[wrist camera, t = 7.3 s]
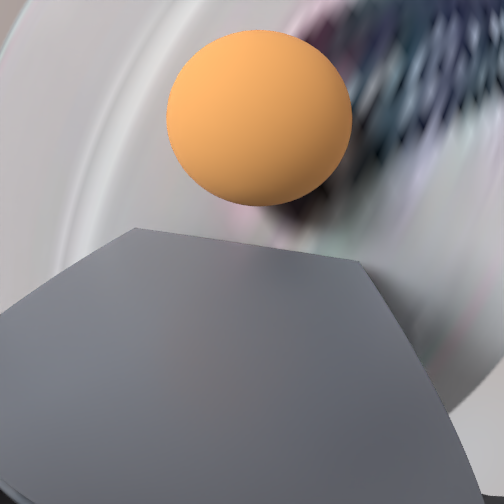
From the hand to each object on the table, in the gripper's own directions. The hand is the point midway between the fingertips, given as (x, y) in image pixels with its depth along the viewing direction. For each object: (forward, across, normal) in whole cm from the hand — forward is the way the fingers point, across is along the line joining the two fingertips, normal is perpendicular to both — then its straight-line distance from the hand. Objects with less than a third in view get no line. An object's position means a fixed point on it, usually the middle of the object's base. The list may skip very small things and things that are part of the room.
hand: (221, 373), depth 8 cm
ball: (+2, 0, -7) cm, 8 cm away
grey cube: (+2, 0, 0) cm, 2 cm away
